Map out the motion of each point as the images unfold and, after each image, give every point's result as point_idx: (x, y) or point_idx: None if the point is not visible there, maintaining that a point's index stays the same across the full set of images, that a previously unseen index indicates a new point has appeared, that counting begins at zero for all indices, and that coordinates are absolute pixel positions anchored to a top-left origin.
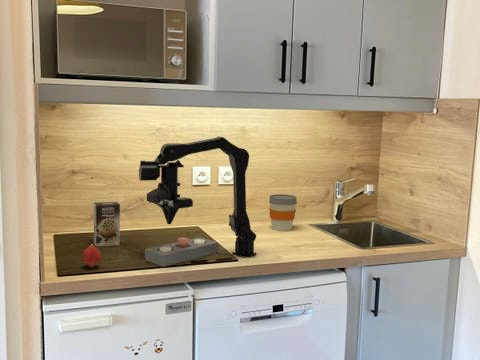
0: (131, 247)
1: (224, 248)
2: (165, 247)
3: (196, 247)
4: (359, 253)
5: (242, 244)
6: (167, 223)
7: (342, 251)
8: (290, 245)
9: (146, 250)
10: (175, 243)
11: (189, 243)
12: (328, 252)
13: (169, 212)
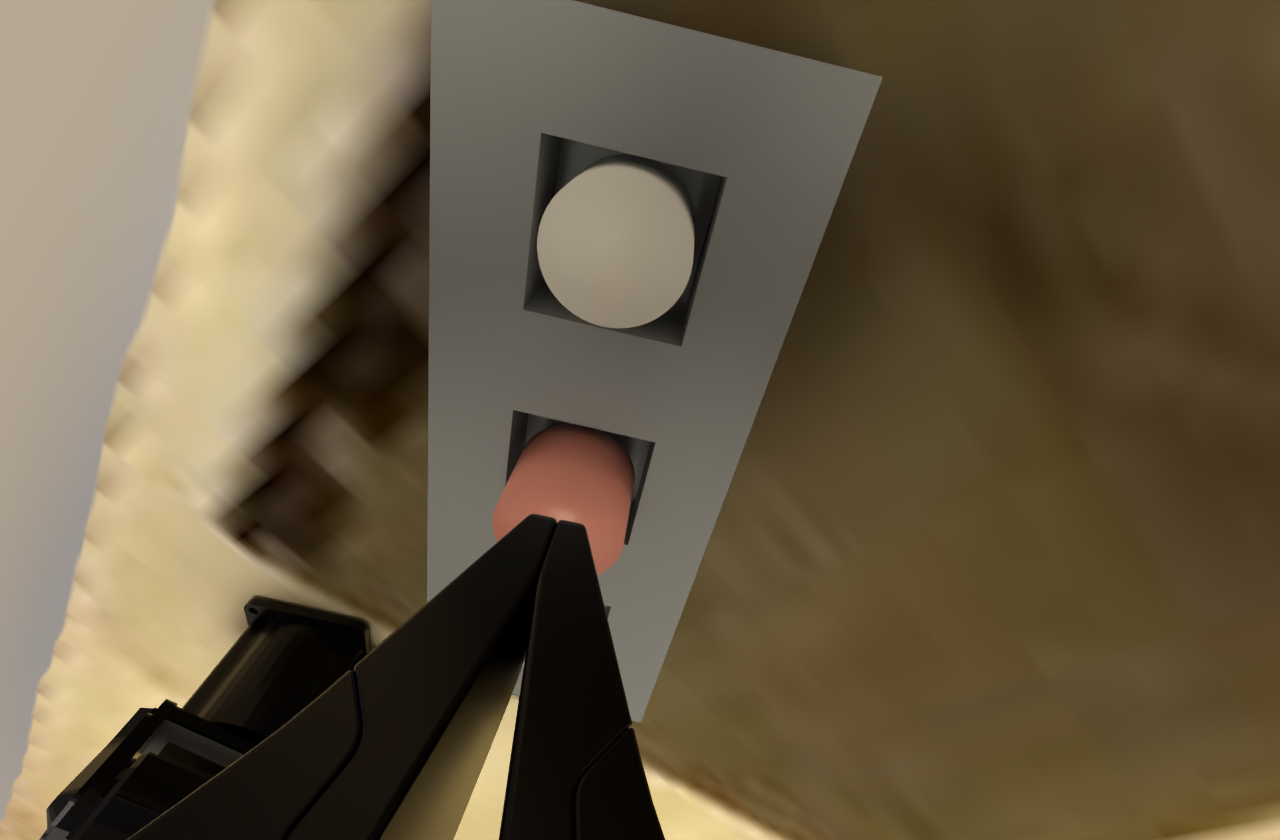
0: (1247, 397)
1: None
2: (632, 274)
3: (429, 496)
4: (40, 819)
5: (231, 686)
6: (571, 526)
7: None
8: None
9: (849, 69)
10: (691, 506)
11: None
12: None
13: (189, 804)
